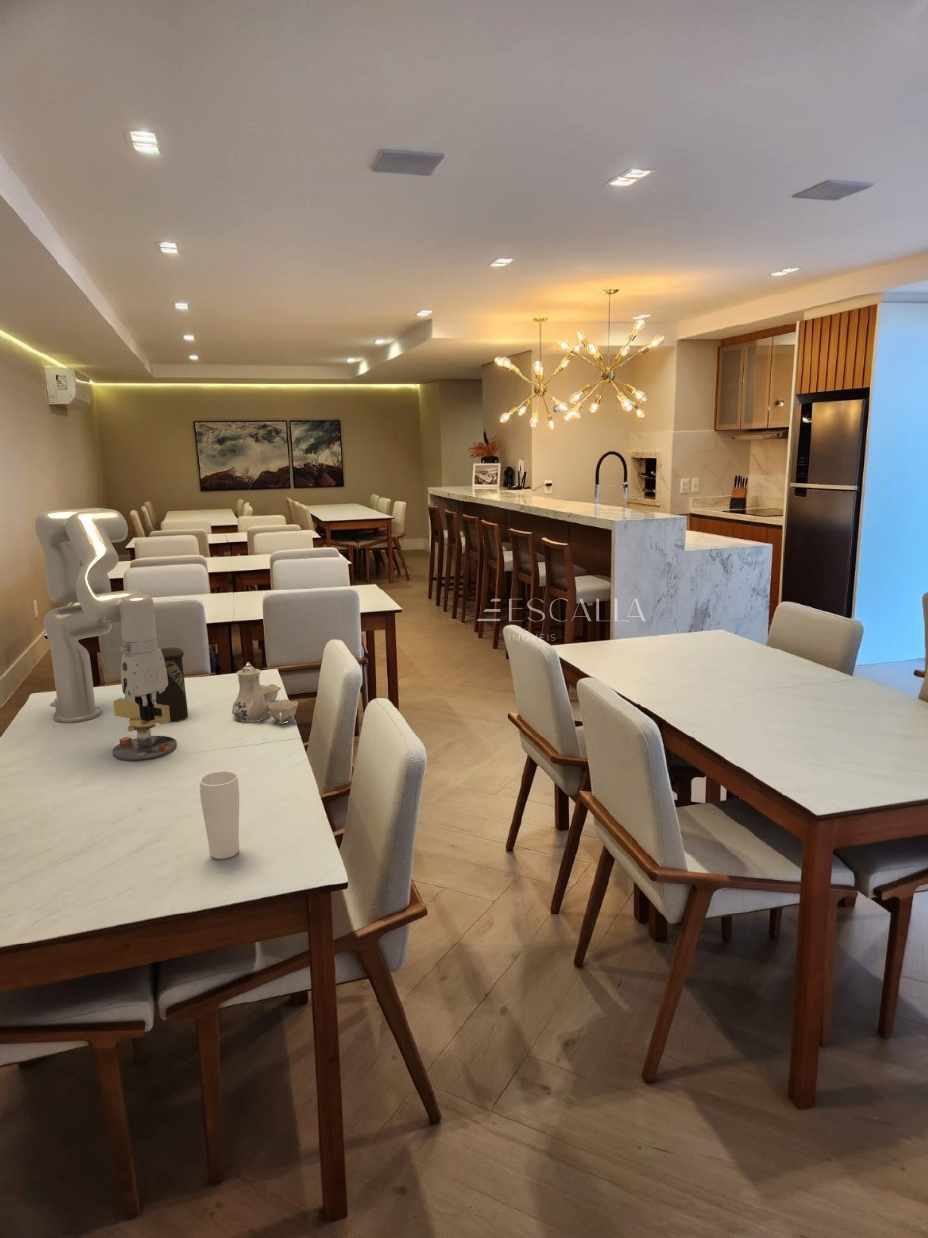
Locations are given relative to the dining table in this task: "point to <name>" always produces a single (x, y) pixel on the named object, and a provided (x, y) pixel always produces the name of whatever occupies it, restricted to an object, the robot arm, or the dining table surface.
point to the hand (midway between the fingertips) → (147, 719)
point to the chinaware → (259, 699)
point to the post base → (143, 753)
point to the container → (174, 685)
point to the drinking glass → (221, 812)
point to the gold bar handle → (133, 713)
